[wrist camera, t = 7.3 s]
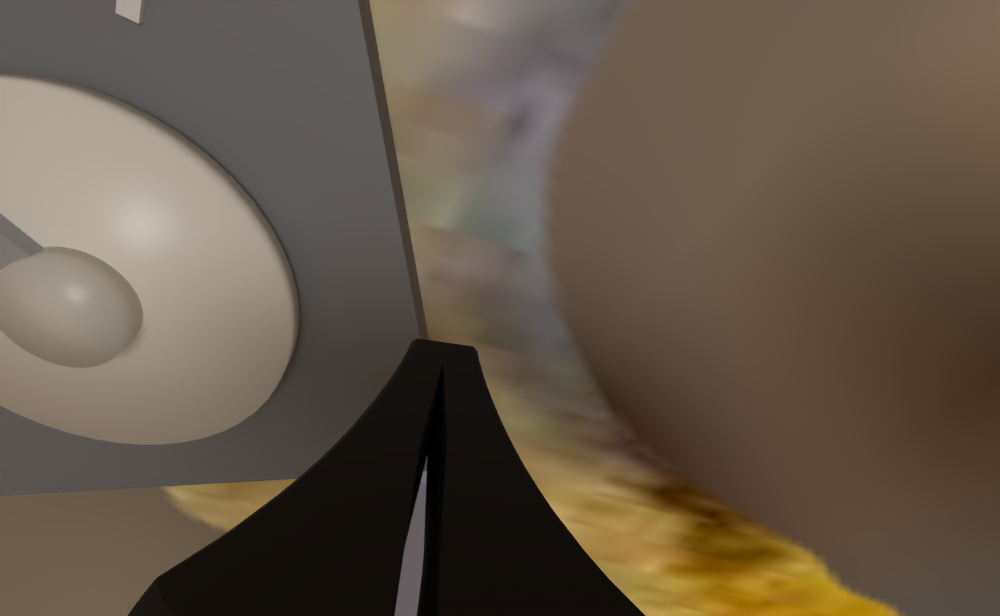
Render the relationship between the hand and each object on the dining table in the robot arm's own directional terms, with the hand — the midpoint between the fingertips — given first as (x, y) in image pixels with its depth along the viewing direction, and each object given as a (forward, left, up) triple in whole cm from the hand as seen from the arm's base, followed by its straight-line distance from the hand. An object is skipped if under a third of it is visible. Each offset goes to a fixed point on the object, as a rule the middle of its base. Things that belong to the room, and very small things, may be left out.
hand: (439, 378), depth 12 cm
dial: (0, +14, -8) cm, 16 cm away
